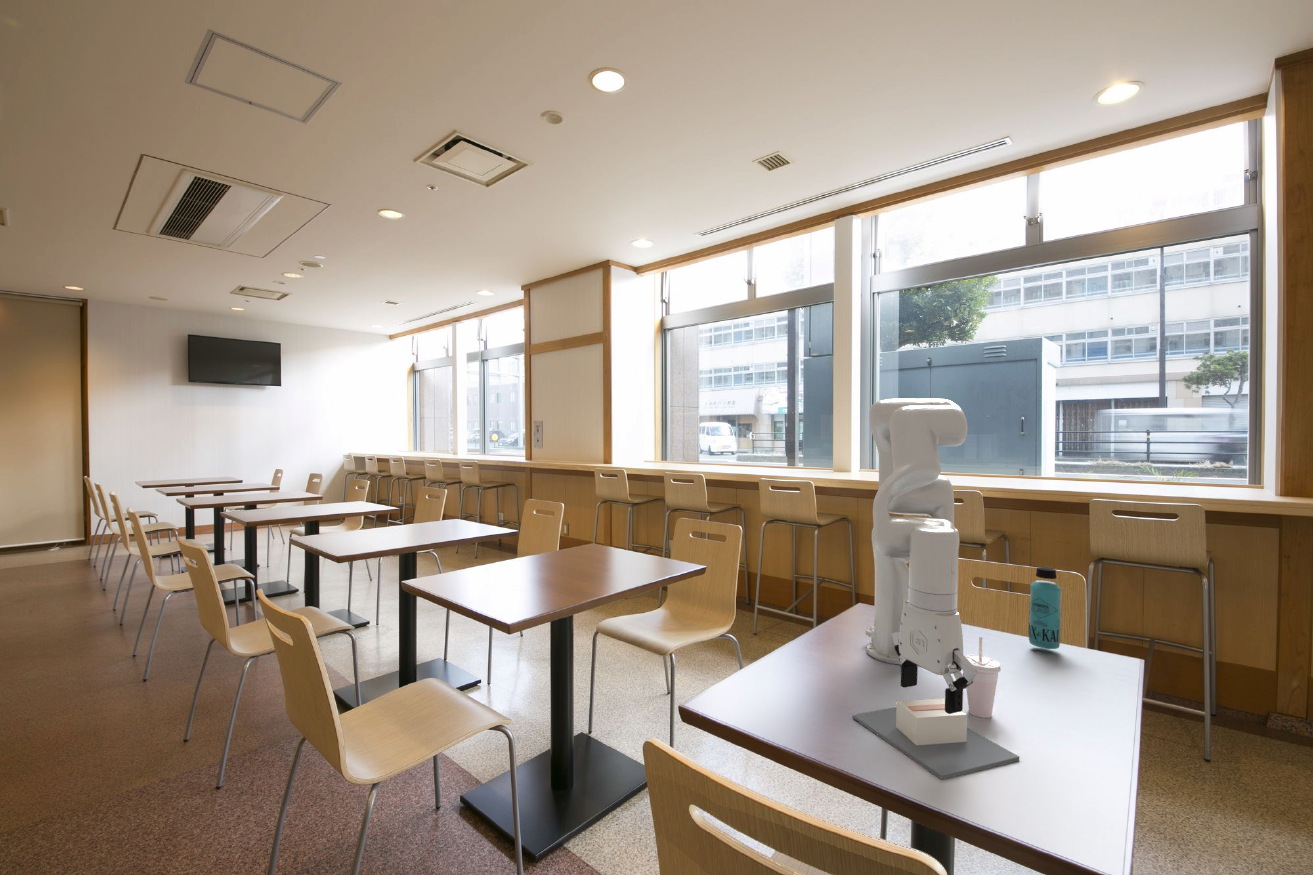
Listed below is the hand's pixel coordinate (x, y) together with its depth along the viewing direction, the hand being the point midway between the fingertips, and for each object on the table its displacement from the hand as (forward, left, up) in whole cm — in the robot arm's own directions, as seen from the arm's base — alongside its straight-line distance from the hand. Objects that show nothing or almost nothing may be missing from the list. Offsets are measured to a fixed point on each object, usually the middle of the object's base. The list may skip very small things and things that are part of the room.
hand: (930, 698), depth 100 cm
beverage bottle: (-22, +59, -7) cm, 63 cm away
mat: (+1, 0, -6) cm, 6 cm away
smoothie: (-3, +16, -7) cm, 17 cm away
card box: (+1, 0, -6) cm, 6 cm away
